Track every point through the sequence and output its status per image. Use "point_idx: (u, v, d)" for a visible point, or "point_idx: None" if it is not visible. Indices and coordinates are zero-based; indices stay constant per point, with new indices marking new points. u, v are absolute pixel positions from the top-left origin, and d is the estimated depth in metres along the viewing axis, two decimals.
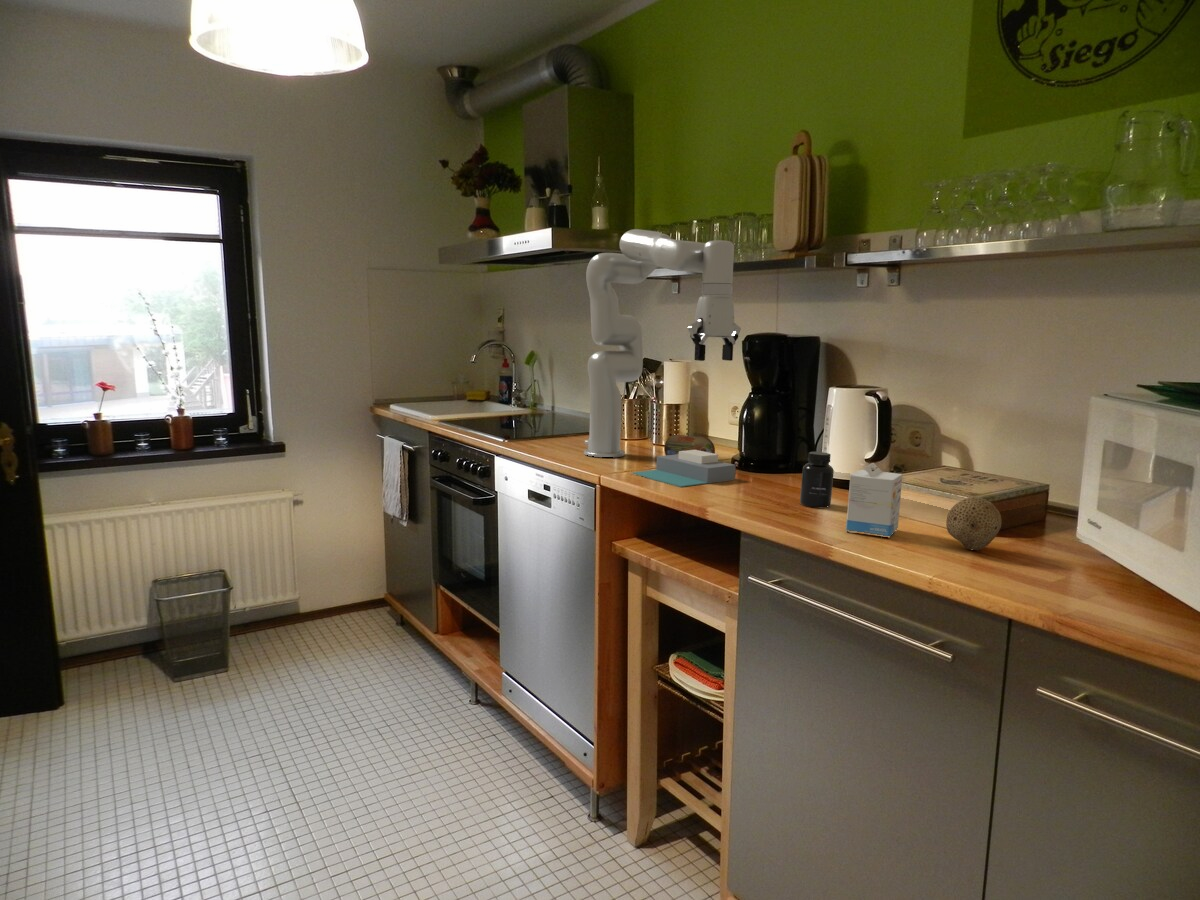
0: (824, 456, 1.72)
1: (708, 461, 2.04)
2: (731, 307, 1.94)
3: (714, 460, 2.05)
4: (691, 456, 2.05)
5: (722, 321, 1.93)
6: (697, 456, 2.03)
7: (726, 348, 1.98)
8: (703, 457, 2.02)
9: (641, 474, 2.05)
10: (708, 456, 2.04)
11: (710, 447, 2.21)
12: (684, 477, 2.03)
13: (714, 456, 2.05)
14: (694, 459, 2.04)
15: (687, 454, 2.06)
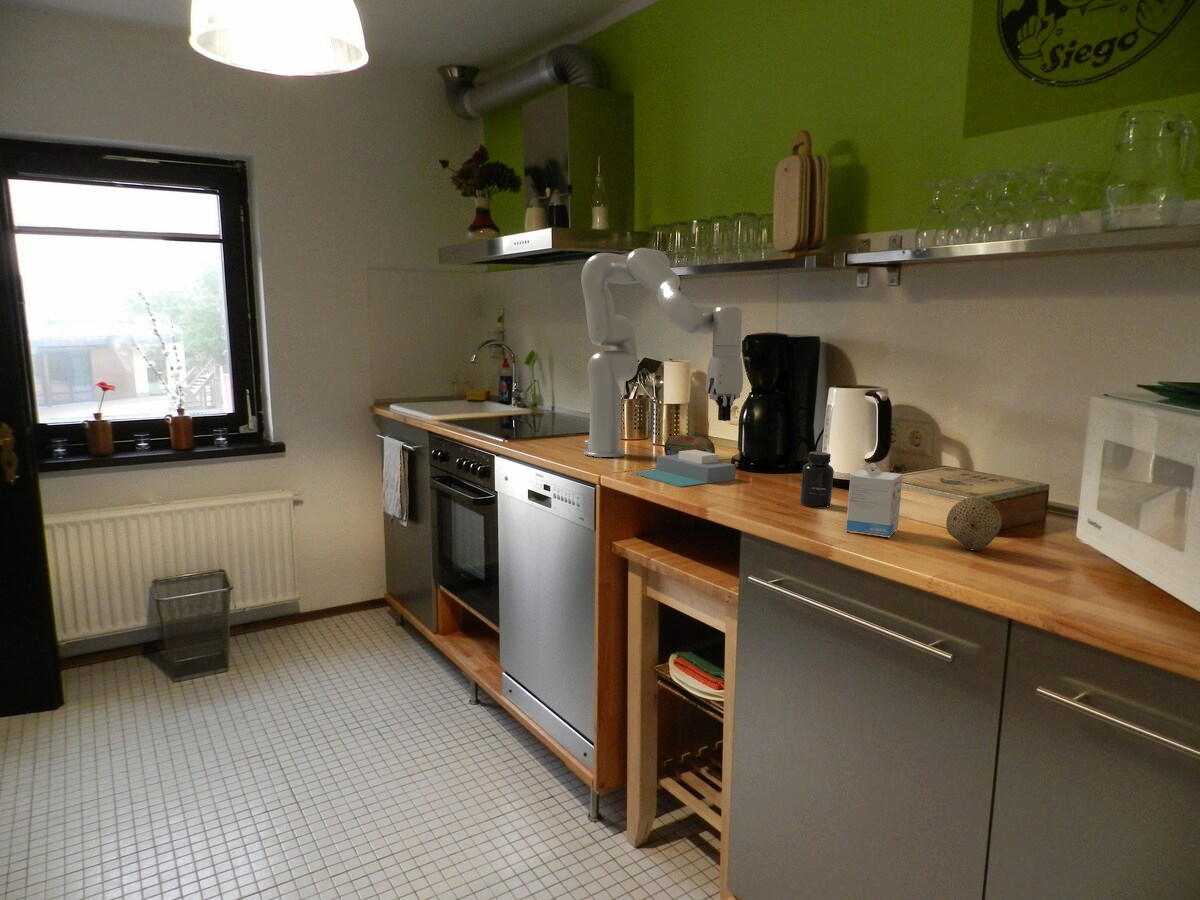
0: (824, 456, 1.72)
1: (708, 461, 2.04)
2: (739, 366, 2.08)
3: (714, 460, 2.05)
4: (691, 456, 2.05)
5: (732, 380, 2.07)
6: (697, 456, 2.03)
7: None
8: (703, 457, 2.02)
9: (641, 474, 2.05)
10: (708, 456, 2.04)
11: (710, 447, 2.21)
12: (684, 477, 2.03)
13: (714, 456, 2.05)
14: (694, 459, 2.04)
15: (687, 454, 2.06)
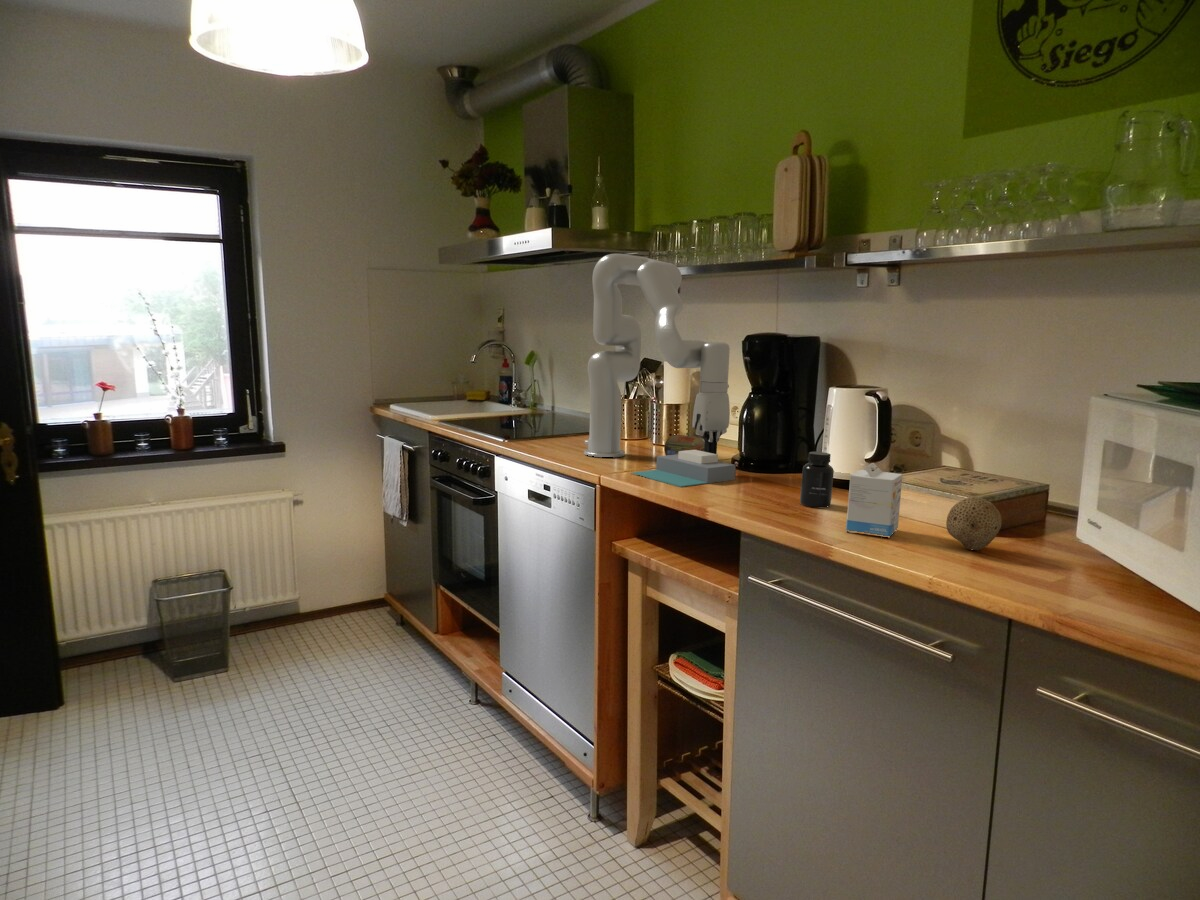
0: (824, 456, 1.72)
1: (708, 461, 2.04)
2: (726, 402, 2.08)
3: (714, 460, 2.05)
4: (691, 456, 2.05)
5: (718, 416, 2.07)
6: (697, 456, 2.03)
7: None
8: (703, 457, 2.02)
9: (641, 474, 2.05)
10: (708, 456, 2.04)
11: None
12: (684, 477, 2.03)
13: (714, 456, 2.05)
14: (694, 459, 2.04)
15: (687, 454, 2.06)
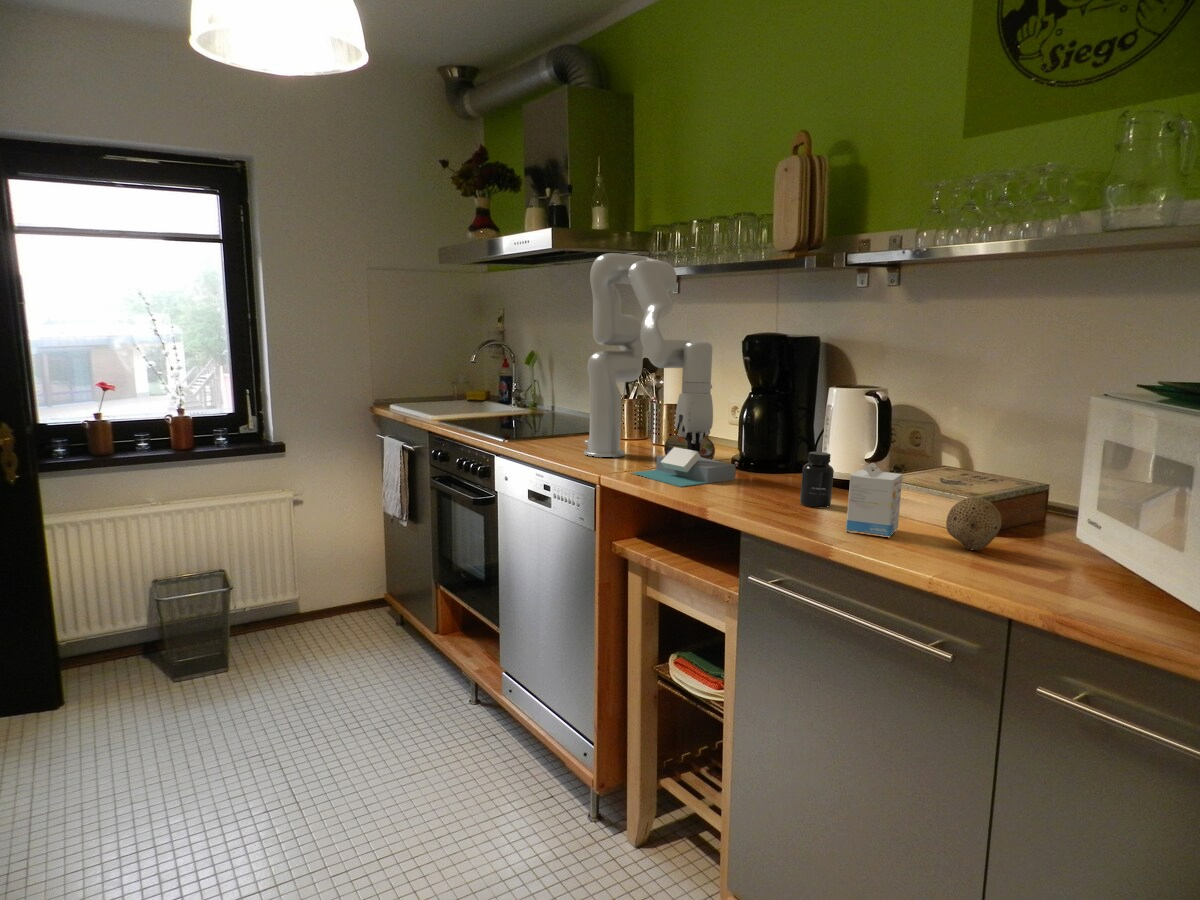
0: (824, 456, 1.72)
1: (692, 464, 2.00)
2: (709, 403, 2.04)
3: (697, 458, 2.01)
4: (674, 466, 2.02)
5: (701, 417, 2.03)
6: (680, 466, 2.00)
7: None
8: (686, 466, 1.99)
9: (641, 474, 2.05)
10: (689, 461, 1.99)
11: (710, 447, 2.21)
12: (684, 477, 2.03)
13: (695, 455, 2.00)
14: (678, 468, 2.01)
15: (670, 464, 2.03)
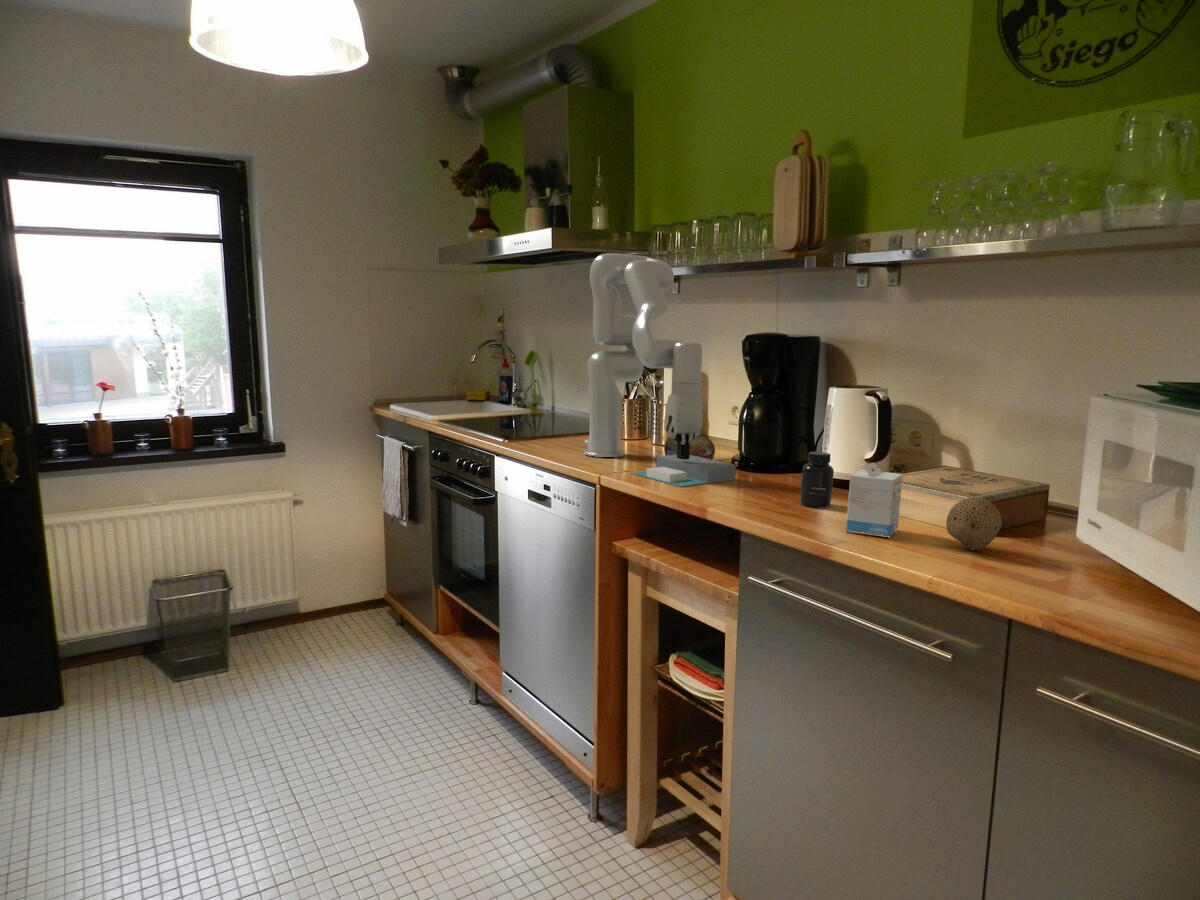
0: (824, 456, 1.72)
1: (679, 474, 1.98)
2: (699, 404, 2.02)
3: (673, 475, 1.96)
4: None
5: (691, 418, 2.01)
6: None
7: None
8: (685, 478, 1.99)
9: (641, 474, 2.05)
10: (679, 479, 1.98)
11: (710, 447, 2.21)
12: None
13: (673, 480, 1.97)
14: None
15: None
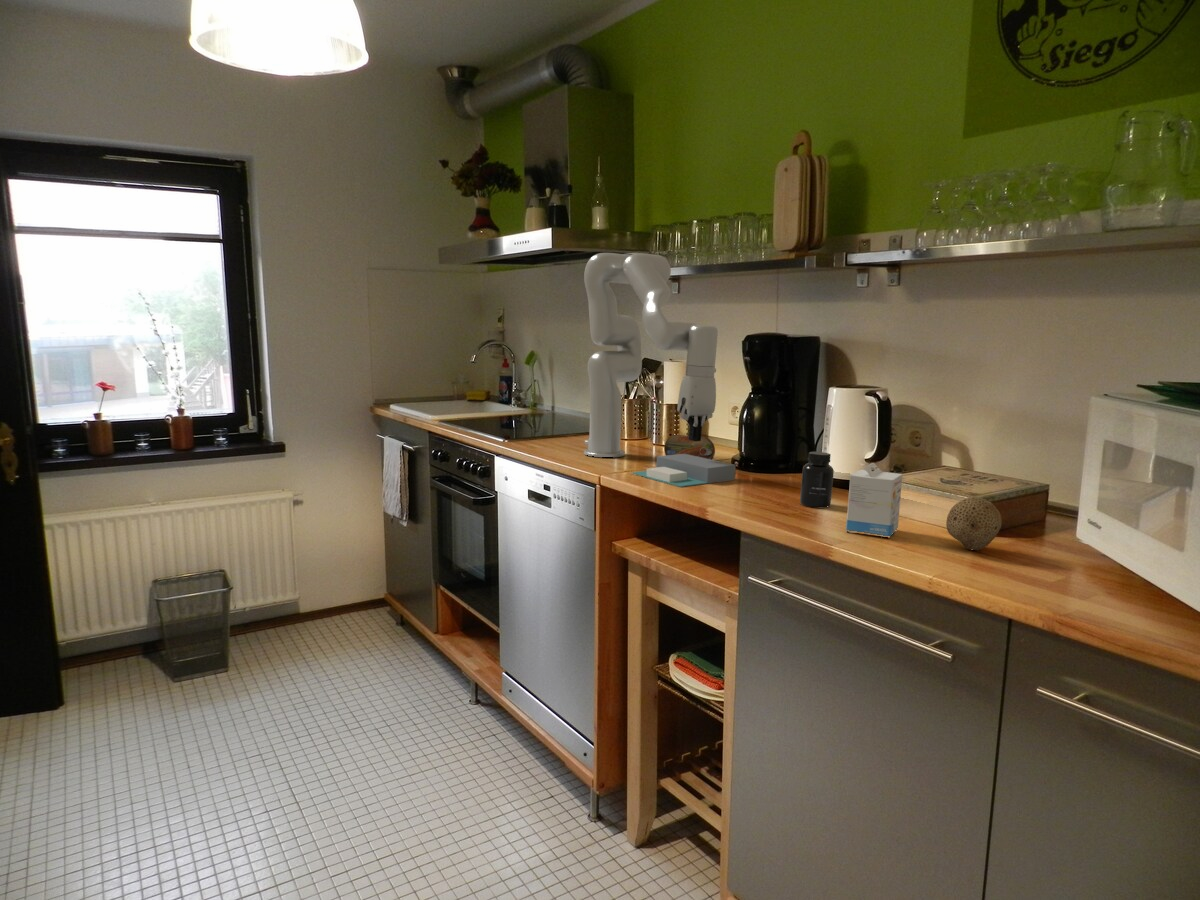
0: (824, 456, 1.72)
1: (679, 474, 1.98)
2: (713, 387, 2.05)
3: (673, 475, 1.96)
4: None
5: (704, 401, 2.03)
6: None
7: None
8: (685, 478, 1.99)
9: (641, 474, 2.05)
10: (679, 479, 1.98)
11: (710, 447, 2.21)
12: None
13: (673, 480, 1.97)
14: None
15: None
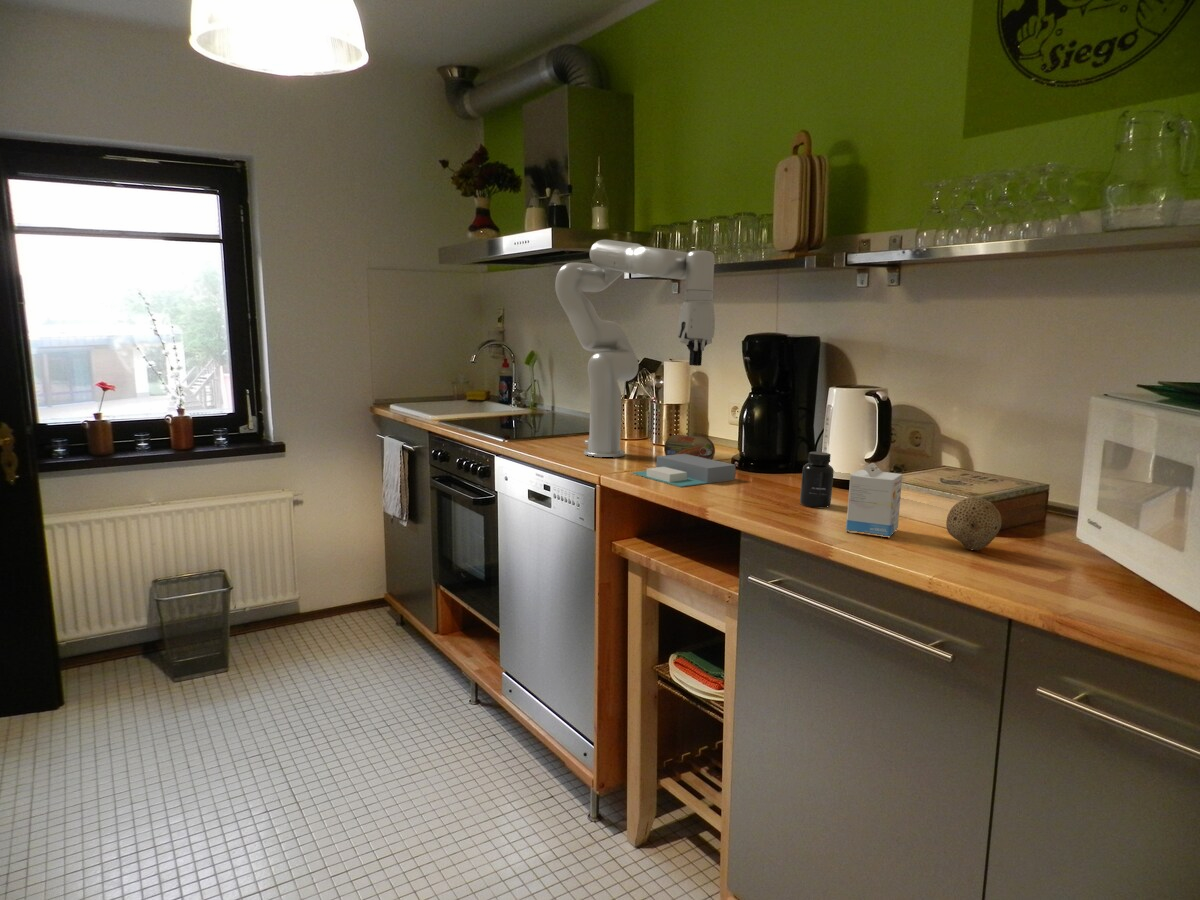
0: (824, 456, 1.72)
1: (679, 474, 1.98)
2: (711, 311, 2.10)
3: (673, 475, 1.96)
4: None
5: (703, 325, 2.09)
6: None
7: None
8: (685, 478, 1.99)
9: (641, 474, 2.05)
10: (679, 479, 1.98)
11: (710, 447, 2.21)
12: None
13: (673, 480, 1.97)
14: None
15: None
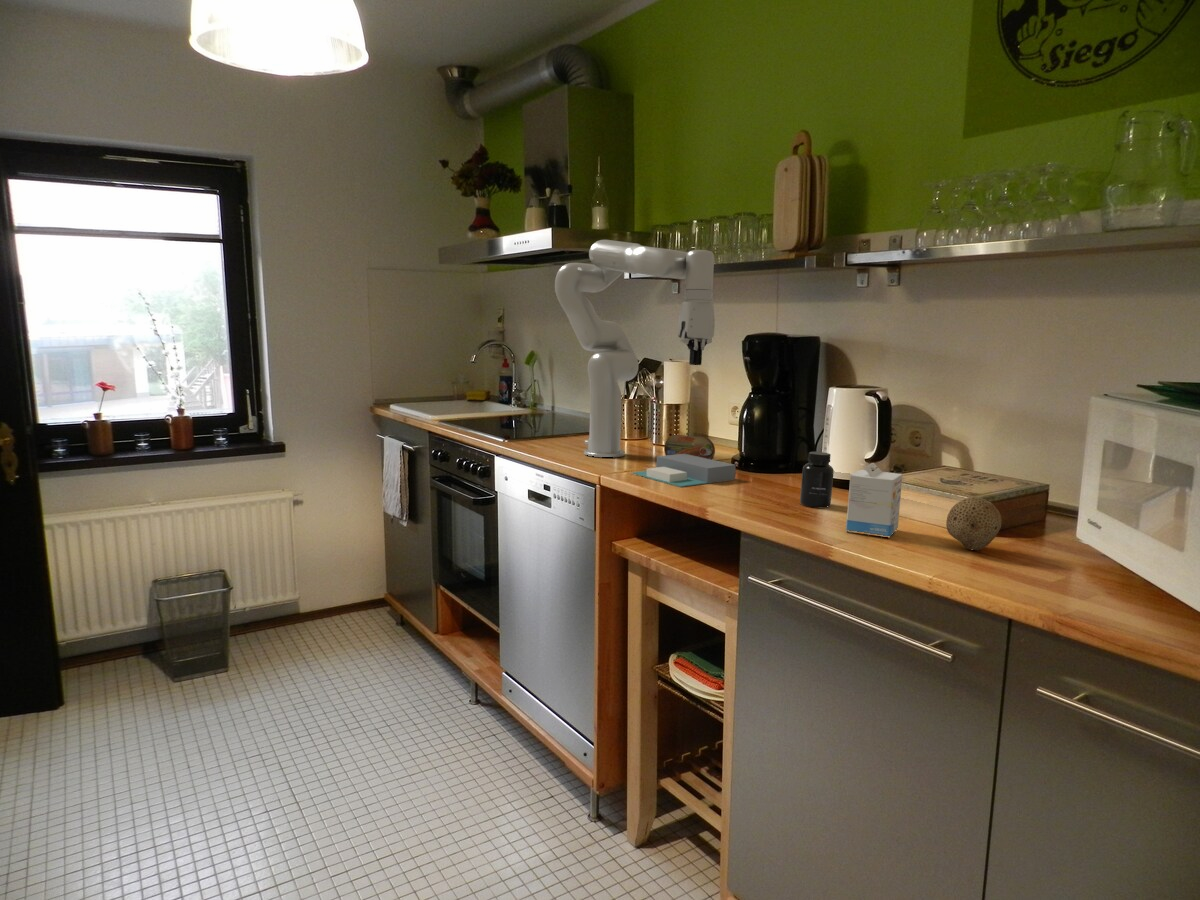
0: (824, 456, 1.72)
1: (679, 474, 1.98)
2: (711, 311, 2.11)
3: (673, 475, 1.96)
4: None
5: (703, 324, 2.09)
6: None
7: None
8: (685, 478, 1.99)
9: (641, 474, 2.05)
10: (679, 479, 1.98)
11: (710, 447, 2.21)
12: None
13: (673, 480, 1.97)
14: None
15: None
